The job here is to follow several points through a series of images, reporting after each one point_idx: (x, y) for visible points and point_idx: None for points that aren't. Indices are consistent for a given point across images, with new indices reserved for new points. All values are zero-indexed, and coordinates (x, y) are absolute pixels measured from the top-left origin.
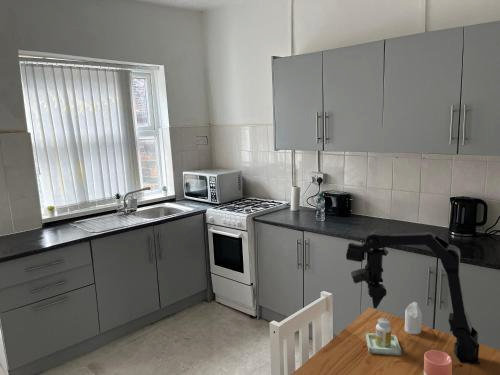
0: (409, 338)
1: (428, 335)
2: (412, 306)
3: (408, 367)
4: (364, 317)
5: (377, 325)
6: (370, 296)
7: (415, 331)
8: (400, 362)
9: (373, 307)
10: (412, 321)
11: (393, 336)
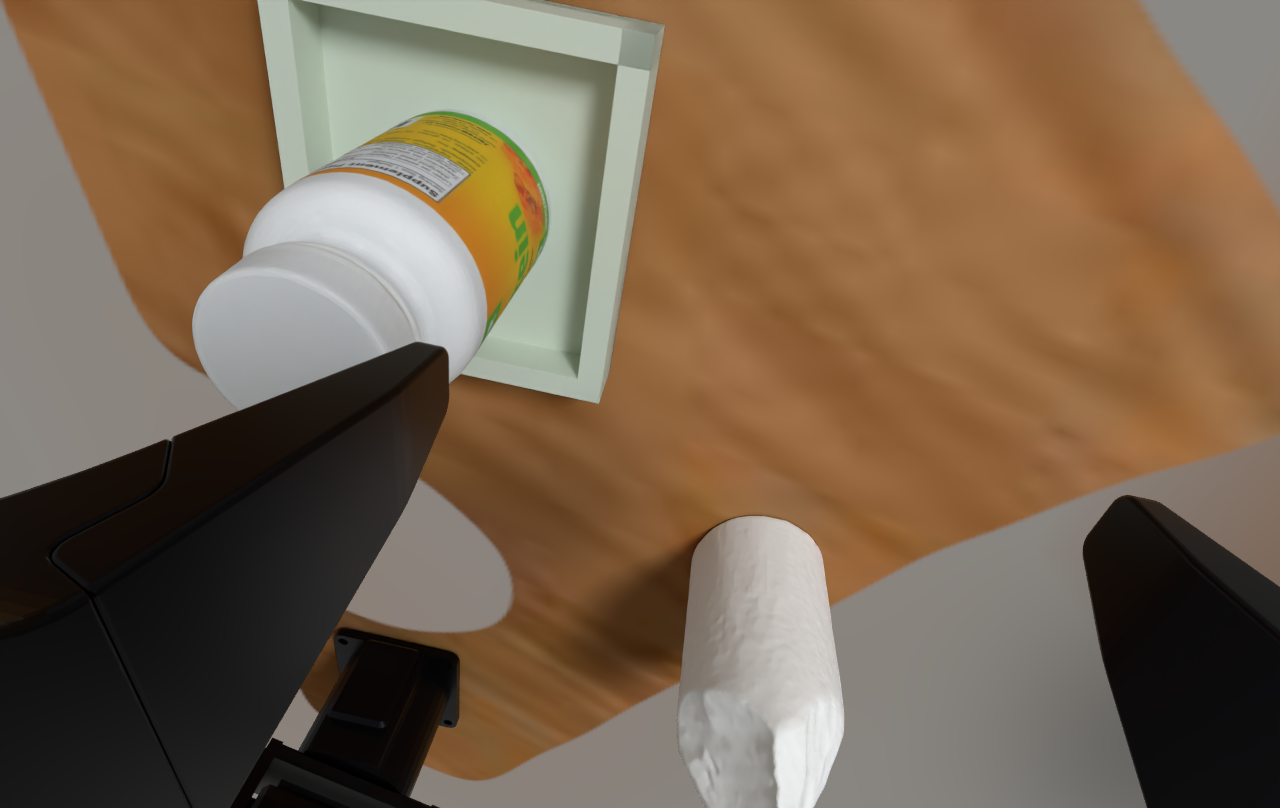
0: (631, 492)
1: (670, 626)
2: None
3: (166, 297)
4: (1226, 206)
5: (343, 219)
6: (1126, 512)
7: (690, 581)
8: (220, 259)
9: (418, 344)
10: (693, 647)
11: (580, 371)
